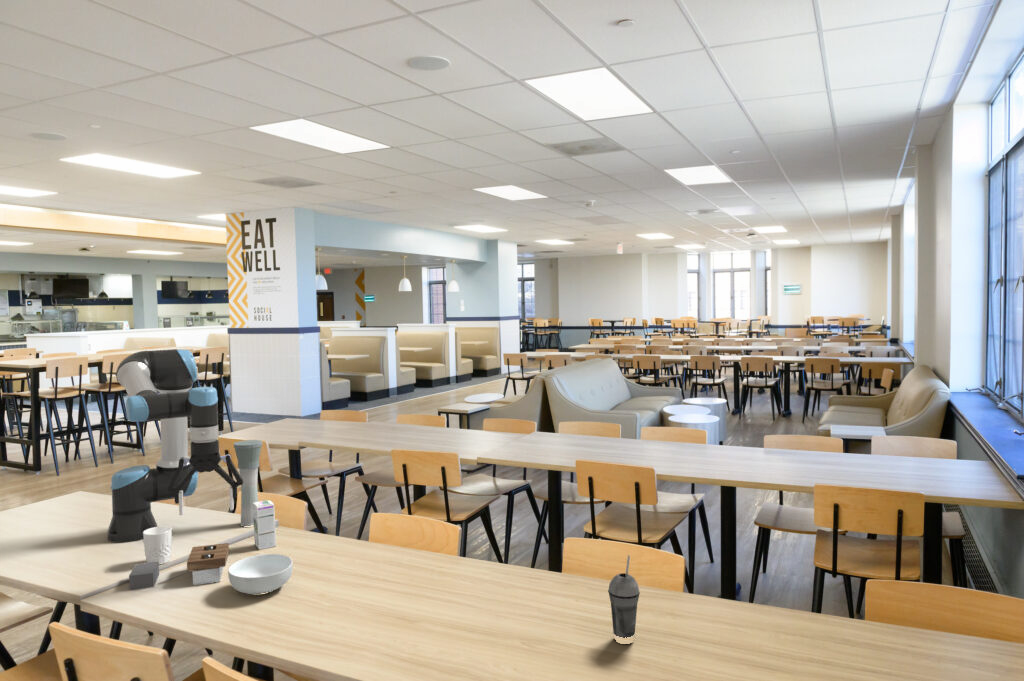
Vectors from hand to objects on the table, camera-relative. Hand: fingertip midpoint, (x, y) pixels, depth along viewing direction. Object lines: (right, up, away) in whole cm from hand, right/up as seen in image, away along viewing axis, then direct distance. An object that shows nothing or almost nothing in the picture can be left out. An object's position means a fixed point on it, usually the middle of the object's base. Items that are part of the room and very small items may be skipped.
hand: (207, 511), depth 195 cm
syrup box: (+8, -18, +24) cm, 31 cm away
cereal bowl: (+20, -19, -10) cm, 30 cm away
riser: (-16, -19, -5) cm, 25 cm away
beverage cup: (+116, -20, -41) cm, 125 cm away
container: (-5, -17, +46) cm, 49 cm away
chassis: (0, -19, +1) cm, 19 cm away
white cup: (-20, -19, +11) cm, 29 cm away
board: (0, -15, +1) cm, 15 cm away
